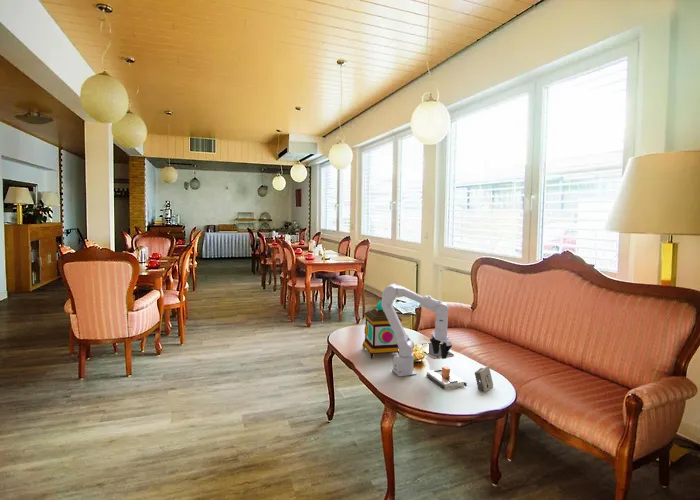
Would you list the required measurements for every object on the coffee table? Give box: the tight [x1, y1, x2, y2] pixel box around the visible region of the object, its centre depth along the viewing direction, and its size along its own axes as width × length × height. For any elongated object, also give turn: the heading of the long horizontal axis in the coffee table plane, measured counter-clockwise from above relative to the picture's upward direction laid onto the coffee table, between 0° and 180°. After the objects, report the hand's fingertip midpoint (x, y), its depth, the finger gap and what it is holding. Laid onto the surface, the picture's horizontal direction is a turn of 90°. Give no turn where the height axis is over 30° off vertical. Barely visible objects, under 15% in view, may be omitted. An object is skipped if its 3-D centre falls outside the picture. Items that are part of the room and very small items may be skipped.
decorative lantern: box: [362, 299, 403, 360], centre depth 227 cm, size 20×20×30 cm
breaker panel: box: [426, 368, 465, 390], centre depth 191 cm, size 10×16×3 cm, turn 20°
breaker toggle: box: [441, 366, 451, 378], centre depth 191 cm, size 2×3×4 cm
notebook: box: [421, 342, 455, 359], centre depth 233 cm, size 13×2×21 cm
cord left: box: [425, 373, 445, 390], centre depth 190 cm, size 14×1×1 cm, turn 20°
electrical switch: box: [474, 365, 494, 393], centre depth 185 cm, size 9×5×9 cm, turn 141°
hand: (439, 355), depth 195 cm, fingers open, 6 cm apart
